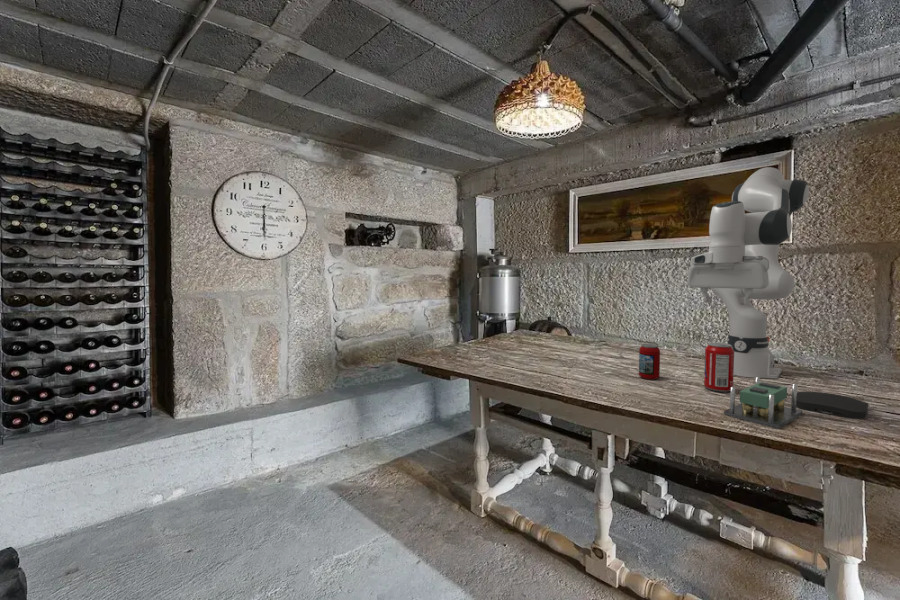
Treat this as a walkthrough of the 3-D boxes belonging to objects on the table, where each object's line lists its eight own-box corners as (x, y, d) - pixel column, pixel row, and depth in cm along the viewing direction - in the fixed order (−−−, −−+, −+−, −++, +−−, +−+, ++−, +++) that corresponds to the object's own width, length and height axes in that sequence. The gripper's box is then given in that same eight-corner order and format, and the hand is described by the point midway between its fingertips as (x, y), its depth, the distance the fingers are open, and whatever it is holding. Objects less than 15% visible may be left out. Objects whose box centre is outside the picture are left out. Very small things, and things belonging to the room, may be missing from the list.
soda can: (718, 394, 125) (719, 347, 124) (698, 387, 133) (699, 342, 132) (739, 392, 127) (740, 345, 126) (718, 385, 134) (719, 341, 133)
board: (760, 392, 113) (760, 380, 113) (786, 397, 108) (787, 384, 108) (739, 402, 106) (740, 388, 105) (767, 408, 101) (767, 394, 100)
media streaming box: (800, 397, 122) (800, 387, 122) (868, 409, 111) (869, 398, 111) (790, 408, 113) (791, 398, 112) (865, 422, 102) (865, 411, 101)
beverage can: (634, 376, 147) (635, 344, 146) (649, 374, 149) (649, 343, 148) (648, 381, 141) (649, 347, 140) (663, 379, 143) (664, 346, 142)
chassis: (750, 402, 117) (751, 375, 117) (802, 414, 107) (804, 385, 107) (723, 414, 107) (724, 385, 107) (778, 429, 98) (779, 397, 97)
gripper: (773, 255, 111) (772, 304, 112) (695, 258, 128) (694, 300, 129) (765, 255, 107) (763, 306, 109) (685, 258, 124) (685, 302, 126)
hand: (725, 303), depth 119 cm, fingers open, 8 cm apart
